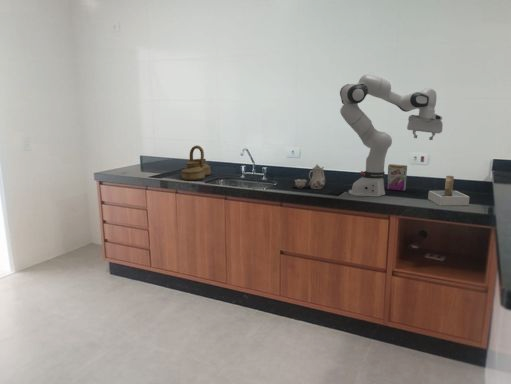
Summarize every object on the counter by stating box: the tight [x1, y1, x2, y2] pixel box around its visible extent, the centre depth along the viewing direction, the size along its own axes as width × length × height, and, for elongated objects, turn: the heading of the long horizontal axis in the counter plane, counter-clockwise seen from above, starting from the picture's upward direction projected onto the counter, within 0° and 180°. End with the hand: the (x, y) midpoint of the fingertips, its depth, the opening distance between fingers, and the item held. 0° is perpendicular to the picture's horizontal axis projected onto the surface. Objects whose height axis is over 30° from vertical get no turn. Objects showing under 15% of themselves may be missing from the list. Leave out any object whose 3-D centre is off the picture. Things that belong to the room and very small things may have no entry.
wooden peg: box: [444, 175, 455, 196], centre depth 236 cm, size 4×4×14 cm
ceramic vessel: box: [180, 145, 211, 181], centre depth 322 cm, size 34×18×25 cm, turn 172°
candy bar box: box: [386, 163, 408, 192], centre depth 271 cm, size 11×5×16 cm, turn 56°
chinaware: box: [293, 163, 326, 190], centre depth 282 cm, size 28×17×17 cm, turn 133°
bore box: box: [427, 190, 470, 207], centre depth 237 cm, size 16×16×5 cm
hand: (423, 139), depth 252 cm, fingers open, 8 cm apart
